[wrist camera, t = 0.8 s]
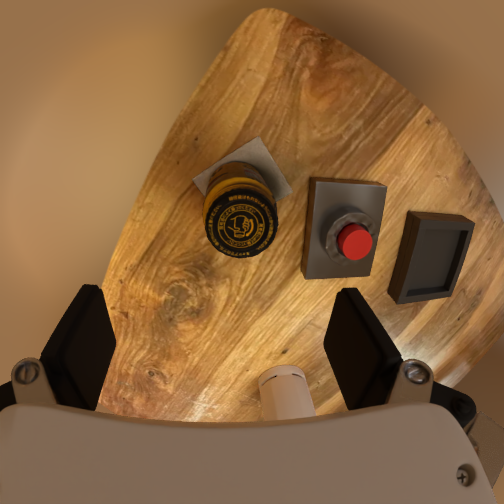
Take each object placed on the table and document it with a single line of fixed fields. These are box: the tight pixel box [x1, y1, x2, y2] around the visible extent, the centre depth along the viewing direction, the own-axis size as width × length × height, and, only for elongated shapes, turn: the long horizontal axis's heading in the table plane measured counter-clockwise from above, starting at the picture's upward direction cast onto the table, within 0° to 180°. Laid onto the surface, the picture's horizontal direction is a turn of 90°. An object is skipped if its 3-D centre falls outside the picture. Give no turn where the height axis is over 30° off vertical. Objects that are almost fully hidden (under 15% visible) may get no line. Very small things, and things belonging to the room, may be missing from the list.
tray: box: [388, 211, 475, 304], centre depth 36 cm, size 13×12×3 cm
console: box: [301, 177, 387, 279], centre depth 32 cm, size 12×9×4 cm
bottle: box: [258, 365, 316, 421], centre depth 33 cm, size 8×8×28 cm
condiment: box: [192, 136, 293, 258], centre depth 25 cm, size 7×8×12 cm
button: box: [337, 224, 372, 260], centre depth 30 cm, size 4×4×2 cm
